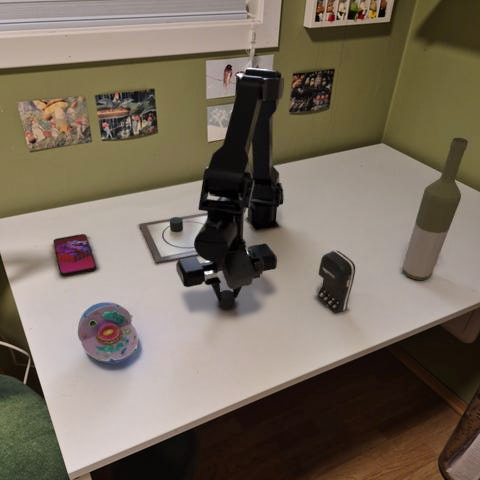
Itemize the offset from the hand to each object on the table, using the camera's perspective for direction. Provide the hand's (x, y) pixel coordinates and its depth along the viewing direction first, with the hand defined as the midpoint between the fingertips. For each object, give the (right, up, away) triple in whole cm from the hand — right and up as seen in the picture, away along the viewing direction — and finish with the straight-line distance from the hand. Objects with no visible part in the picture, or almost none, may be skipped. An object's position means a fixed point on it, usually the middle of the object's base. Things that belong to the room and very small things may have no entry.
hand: (226, 298), depth 95 cm
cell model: (-20, -10, -10) cm, 25 cm away
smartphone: (-35, +10, +13) cm, 39 cm away
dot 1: (-13, +18, +22) cm, 31 cm away
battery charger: (+21, -1, +2) cm, 21 cm away
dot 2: (0, -1, +1) cm, 1 cm away
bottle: (+42, +6, +11) cm, 44 cm away
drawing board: (-10, +16, +20) cm, 28 cm away
